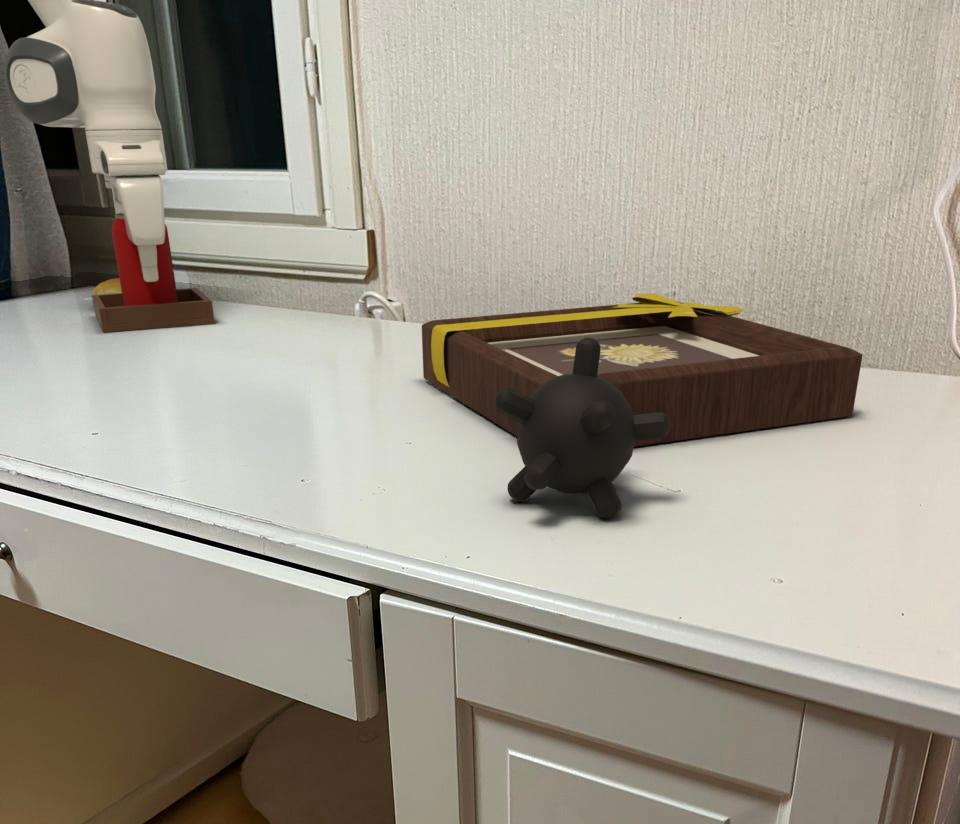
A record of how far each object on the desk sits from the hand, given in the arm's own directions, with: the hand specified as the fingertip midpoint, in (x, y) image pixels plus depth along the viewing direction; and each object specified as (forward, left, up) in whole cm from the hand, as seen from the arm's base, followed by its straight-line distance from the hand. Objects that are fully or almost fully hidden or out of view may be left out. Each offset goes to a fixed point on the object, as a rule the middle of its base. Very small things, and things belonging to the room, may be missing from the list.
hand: (147, 277), depth 126 cm
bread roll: (-2, +13, -6) cm, 15 cm away
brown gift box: (+34, -63, -6) cm, 71 cm away
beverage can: (0, 0, -5) cm, 5 cm away
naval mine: (+17, -86, -6) cm, 87 cm away
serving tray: (0, 0, -5) cm, 5 cm away
